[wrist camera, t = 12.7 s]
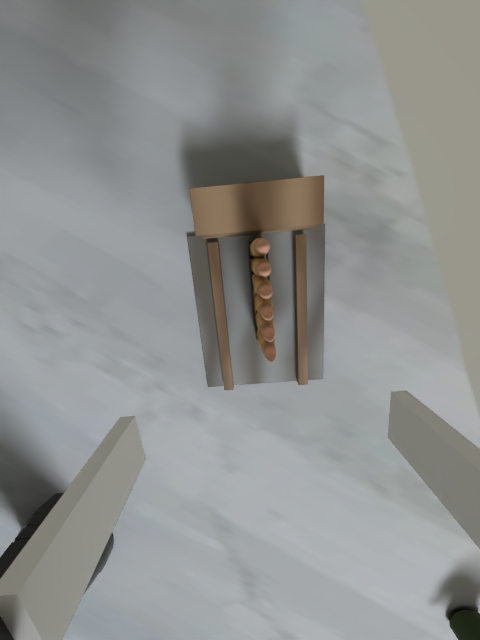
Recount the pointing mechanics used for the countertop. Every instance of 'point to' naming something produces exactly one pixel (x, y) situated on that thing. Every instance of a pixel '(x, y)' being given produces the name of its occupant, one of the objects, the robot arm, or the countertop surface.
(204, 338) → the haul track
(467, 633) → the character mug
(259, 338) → the ammunition clip
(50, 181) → the countertop surface
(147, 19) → the countertop surface
